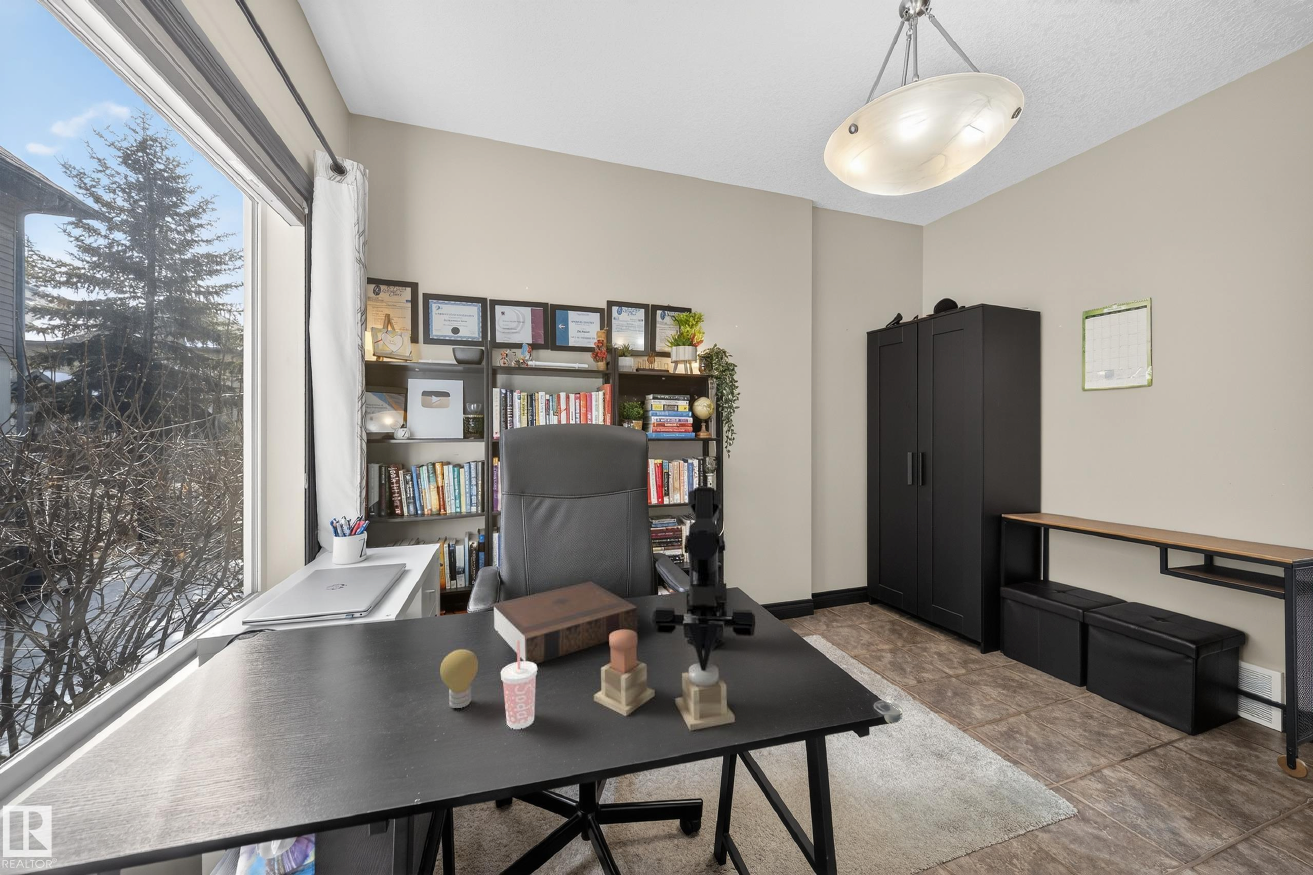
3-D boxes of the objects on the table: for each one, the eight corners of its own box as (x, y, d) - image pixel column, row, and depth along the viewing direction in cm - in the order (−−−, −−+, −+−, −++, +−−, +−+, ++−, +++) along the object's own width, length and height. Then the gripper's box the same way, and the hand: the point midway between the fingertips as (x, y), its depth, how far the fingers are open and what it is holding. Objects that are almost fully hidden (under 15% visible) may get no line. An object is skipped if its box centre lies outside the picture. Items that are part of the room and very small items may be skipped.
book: (637, 633, 119) (637, 607, 118) (527, 668, 102) (526, 638, 102) (591, 603, 138) (590, 581, 138) (492, 629, 122) (491, 604, 122)
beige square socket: (675, 703, 88) (675, 671, 88) (716, 696, 90) (716, 664, 90) (690, 730, 80) (689, 695, 80) (734, 721, 82) (734, 687, 82)
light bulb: (486, 698, 91) (484, 645, 90) (462, 718, 84) (460, 662, 84) (458, 692, 93) (457, 641, 92) (433, 711, 87) (431, 657, 86)
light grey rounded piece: (685, 699, 87) (684, 665, 87) (712, 694, 88) (711, 660, 88) (695, 716, 82) (694, 679, 82) (723, 711, 83) (723, 675, 83)
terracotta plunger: (623, 659, 93) (622, 627, 93) (643, 667, 90) (642, 634, 90) (604, 670, 89) (603, 636, 89) (624, 679, 86) (624, 644, 86)
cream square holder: (623, 681, 96) (622, 651, 95) (654, 695, 91) (654, 664, 90) (593, 700, 89) (593, 668, 89) (626, 716, 84) (625, 682, 84)
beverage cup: (499, 734, 80) (496, 651, 80) (504, 712, 86) (502, 635, 86) (537, 729, 81) (534, 647, 81) (540, 708, 87) (538, 632, 87)
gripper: (652, 564, 90) (645, 650, 80) (753, 566, 88) (760, 654, 78) (658, 592, 98) (652, 673, 88) (750, 594, 96) (756, 677, 85)
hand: (703, 669), depth 84 cm, fingers closed, pressing on light grey rounded piece
